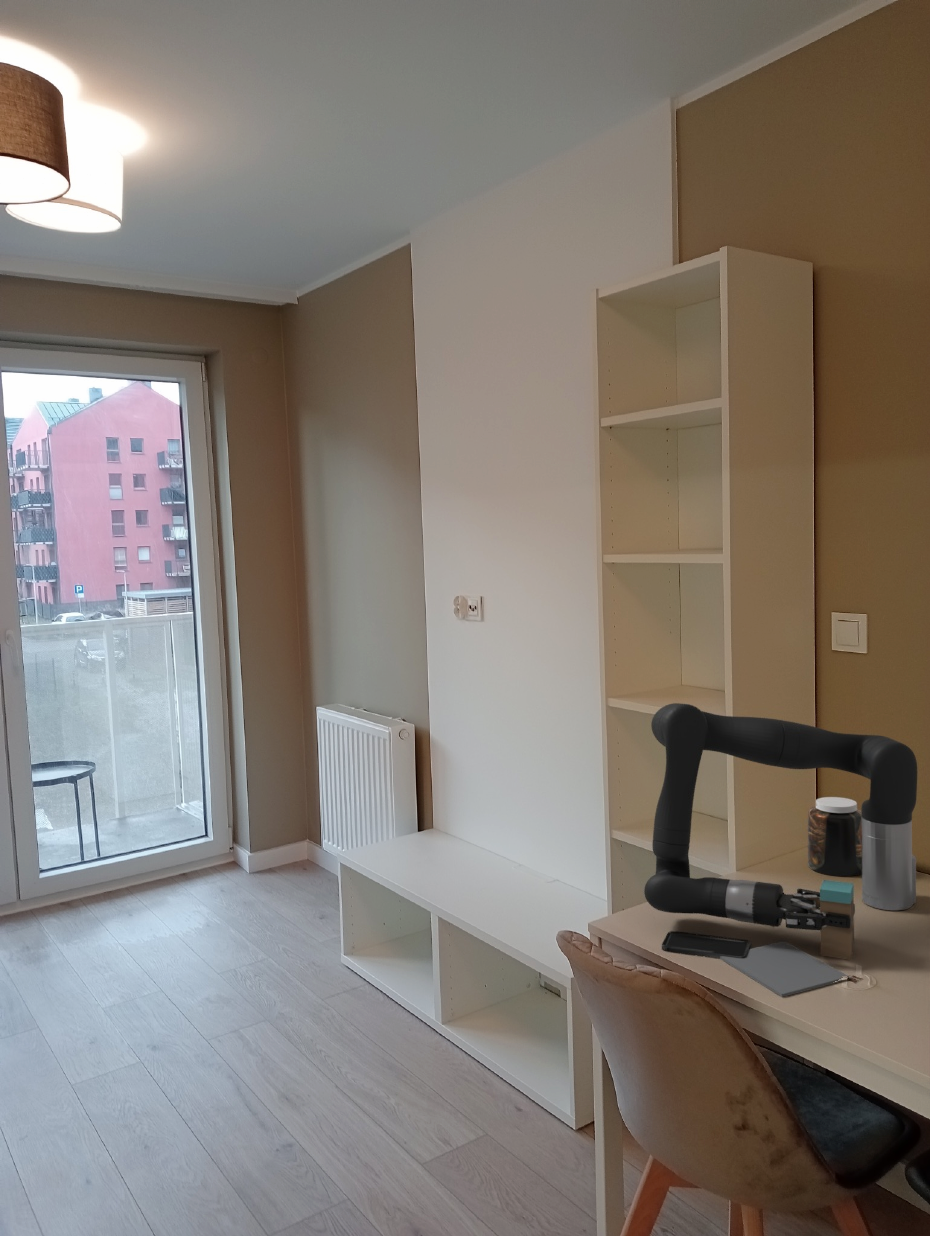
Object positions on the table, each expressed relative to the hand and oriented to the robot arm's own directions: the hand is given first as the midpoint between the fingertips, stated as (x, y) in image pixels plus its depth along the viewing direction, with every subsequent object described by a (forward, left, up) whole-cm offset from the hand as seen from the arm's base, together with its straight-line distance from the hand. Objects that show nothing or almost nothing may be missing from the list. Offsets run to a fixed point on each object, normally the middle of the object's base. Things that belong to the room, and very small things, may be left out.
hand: (852, 915), depth 169 cm
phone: (+21, -14, -8) cm, 26 cm away
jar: (-29, -35, -7) cm, 46 cm away
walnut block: (+2, -2, -7) cm, 7 cm away
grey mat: (+15, -1, -7) cm, 16 cm away
